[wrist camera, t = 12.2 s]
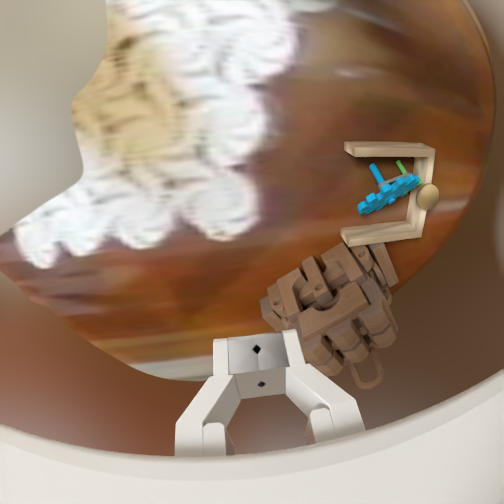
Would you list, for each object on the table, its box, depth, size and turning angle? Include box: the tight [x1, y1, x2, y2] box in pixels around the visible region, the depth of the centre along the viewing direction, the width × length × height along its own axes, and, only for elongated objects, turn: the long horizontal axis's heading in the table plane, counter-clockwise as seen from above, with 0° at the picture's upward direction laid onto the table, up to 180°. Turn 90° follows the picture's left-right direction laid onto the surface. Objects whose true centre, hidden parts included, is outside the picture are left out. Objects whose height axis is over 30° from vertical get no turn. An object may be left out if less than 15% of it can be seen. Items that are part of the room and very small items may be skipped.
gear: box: [357, 160, 422, 215], centre depth 36 cm, size 11×6×10 cm
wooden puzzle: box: [259, 242, 399, 389], centre depth 41 cm, size 22×15×19 cm, turn 125°
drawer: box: [340, 141, 439, 247], centre depth 37 cm, size 14×15×4 cm
